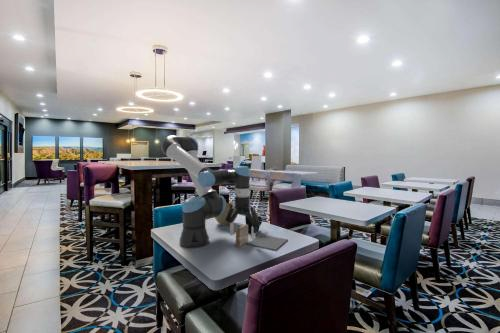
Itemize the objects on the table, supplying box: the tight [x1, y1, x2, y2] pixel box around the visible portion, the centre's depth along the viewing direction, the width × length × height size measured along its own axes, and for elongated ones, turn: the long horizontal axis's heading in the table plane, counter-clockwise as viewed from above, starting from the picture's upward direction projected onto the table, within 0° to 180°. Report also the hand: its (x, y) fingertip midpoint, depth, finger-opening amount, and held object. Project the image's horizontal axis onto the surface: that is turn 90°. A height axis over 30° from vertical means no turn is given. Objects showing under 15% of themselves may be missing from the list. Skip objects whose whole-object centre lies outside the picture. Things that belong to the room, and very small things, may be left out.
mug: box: [244, 212, 263, 234], centre depth 149 cm, size 12×9×10 cm
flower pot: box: [214, 202, 238, 226], centre depth 164 cm, size 18×18×12 cm
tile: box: [235, 223, 249, 248], centre depth 129 cm, size 2×9×9 cm, turn 150°
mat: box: [246, 234, 288, 252], centre depth 131 cm, size 16×16×1 cm
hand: (242, 236), depth 129 cm, fingers open, 12 cm apart
